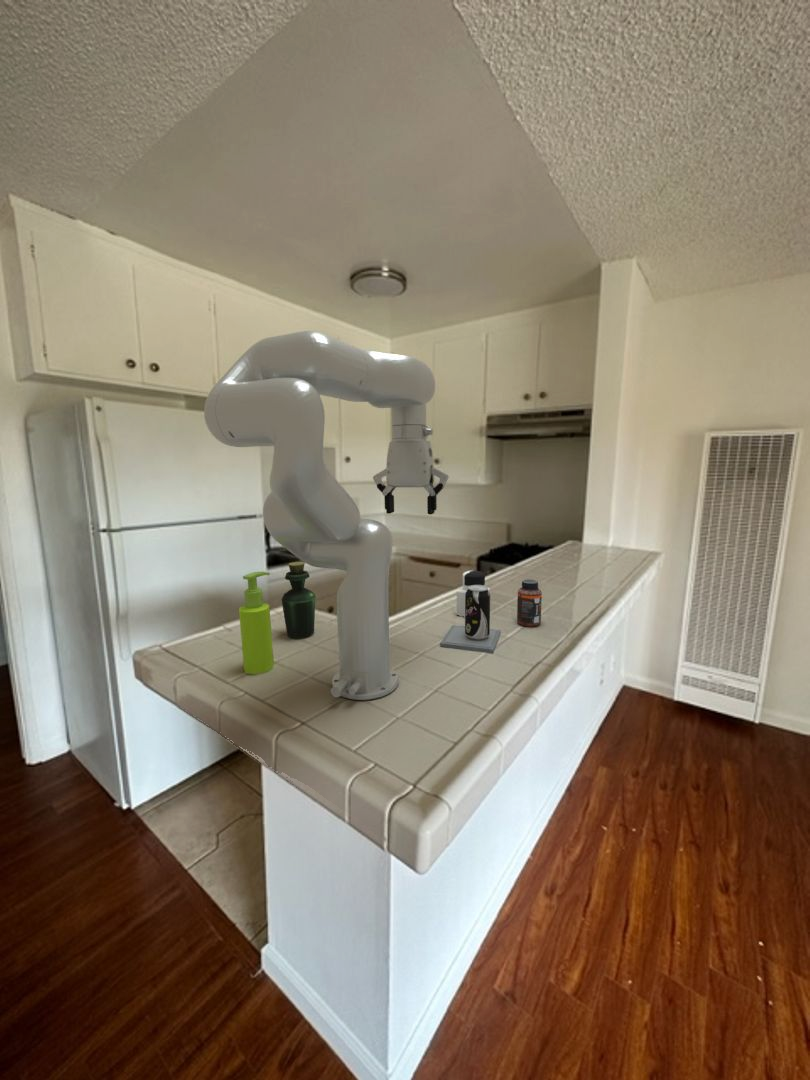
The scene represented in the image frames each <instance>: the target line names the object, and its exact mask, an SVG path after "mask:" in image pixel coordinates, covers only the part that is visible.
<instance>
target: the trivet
mask: <svg viewBox="0 0 810 1080" xmlns="http://www.w3.org/2000/svg"><path fill="white" fill-rule="evenodd" d="M501 631H502V630H501V629H491V628H490V634H489V636H488V637H486V638H485V639H482V640H475V639H471V638H469V637H468V636H466V634H465V625H456V624H452V625H451V627H450V628H449V629H448V630H447V633H446V634H445V635H444V637H443V638H442V640H441V642H440V643H439V647H440V648H442V647H443V648H449V649H456V650H457V649H458V650H465V651H473V652H481V653H490V654H494V652H495V649H496V647H497V644H498V642H499V639H500V636H501V634H502V632H501Z"/></svg>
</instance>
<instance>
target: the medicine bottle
mask: <svg viewBox="0 0 810 1080" xmlns="http://www.w3.org/2000/svg"><path fill="white" fill-rule="evenodd" d="M471 585H483V586H486V574H485V573H484V572H482V571H479V570H467V571H465V572H463V573H462V587H461V588H459V589H458V590H456V616H457V615H459V617H462V616H464V617H463V618H465V593H466V591H467V590H468V587H469V586H471ZM488 591H489V593H490V594H491V588H490V587H488Z"/></svg>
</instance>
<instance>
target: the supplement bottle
mask: <svg viewBox="0 0 810 1080" xmlns="http://www.w3.org/2000/svg"><path fill="white" fill-rule="evenodd" d="M542 595H543V593H542V591H541V589H540V588H539V581H538V580H536V579H526V578H525V579H522V580H521V587H520V588H519V589H518V590H517V598H516V599H517V603H516V604H517V607H516V609H517V611H516V622H517V623H518V624H519V625H520V626H524V627H531V628H532V627H538V626H539V625H541V621H542V598H543V597H542Z"/></svg>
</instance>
